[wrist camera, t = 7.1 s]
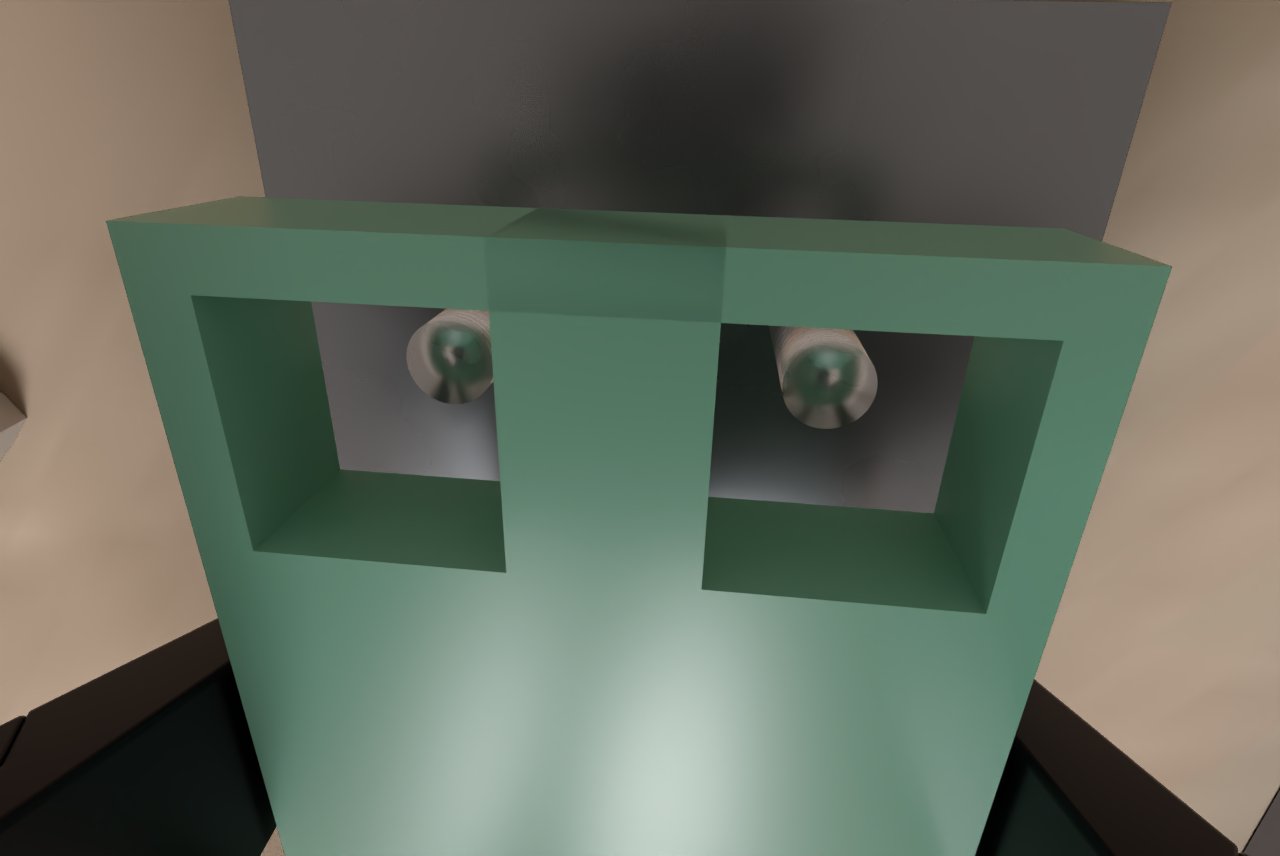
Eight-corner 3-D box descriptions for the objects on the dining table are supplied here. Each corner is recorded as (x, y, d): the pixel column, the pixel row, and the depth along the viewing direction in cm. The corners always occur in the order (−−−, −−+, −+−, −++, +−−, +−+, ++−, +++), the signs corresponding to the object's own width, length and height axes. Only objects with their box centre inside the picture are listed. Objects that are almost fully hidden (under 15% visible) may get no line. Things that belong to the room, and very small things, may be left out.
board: (868, 966, 10) (891, 1105, 8) (383, 904, 10) (332, 1023, 9) (1064, 228, 6) (1172, 265, 4) (239, 197, 6) (105, 221, 5)
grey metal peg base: (912, 800, 14) (975, 1031, 11) (396, 743, 15) (296, 937, 12) (1124, 13, 9) (1412, -54, 5) (273, 0, 10) (1, -63, 6)
